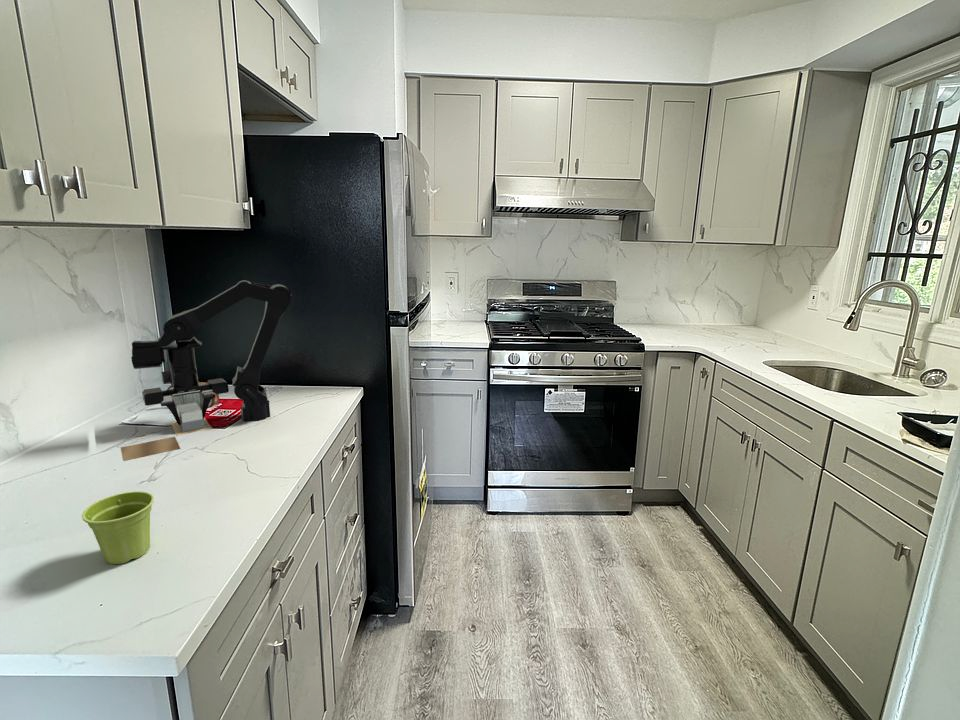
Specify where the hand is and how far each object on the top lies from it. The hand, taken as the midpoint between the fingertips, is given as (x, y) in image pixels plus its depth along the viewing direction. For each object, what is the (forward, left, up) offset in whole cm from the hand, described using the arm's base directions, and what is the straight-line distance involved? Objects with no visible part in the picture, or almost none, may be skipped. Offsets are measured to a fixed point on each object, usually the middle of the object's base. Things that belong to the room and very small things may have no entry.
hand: (190, 422), depth 130 cm
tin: (-3, -18, -3) cm, 19 cm away
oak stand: (0, 0, -2) cm, 2 cm away
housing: (0, 0, -1) cm, 1 cm away
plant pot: (+18, +52, -3) cm, 54 cm away
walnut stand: (+10, +10, -2) cm, 14 cm away
